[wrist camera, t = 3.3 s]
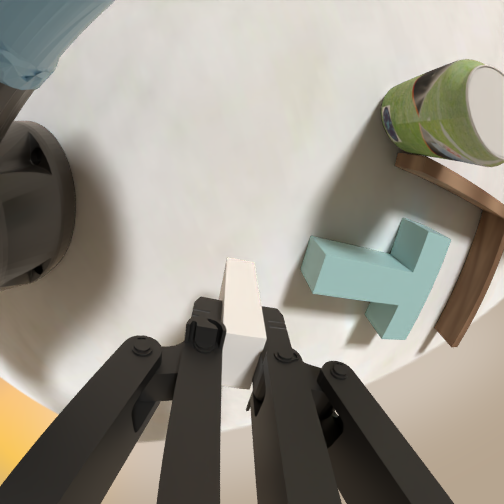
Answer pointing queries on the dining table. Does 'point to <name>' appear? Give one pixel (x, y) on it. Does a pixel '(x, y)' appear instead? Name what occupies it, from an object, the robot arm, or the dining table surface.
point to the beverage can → (449, 113)
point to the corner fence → (481, 252)
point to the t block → (380, 275)
